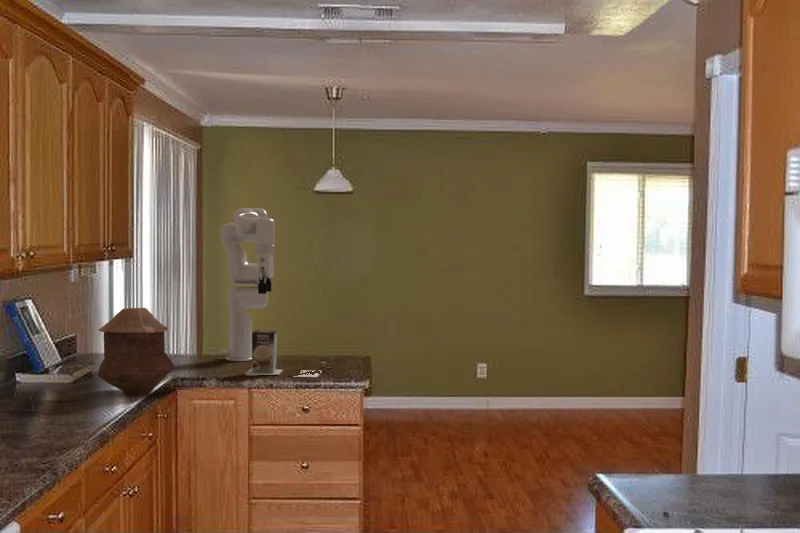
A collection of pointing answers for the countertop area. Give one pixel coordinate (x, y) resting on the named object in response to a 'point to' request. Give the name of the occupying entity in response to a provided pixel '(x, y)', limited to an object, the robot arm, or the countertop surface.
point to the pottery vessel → (134, 352)
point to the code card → (308, 374)
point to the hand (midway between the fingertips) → (264, 292)
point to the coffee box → (264, 351)
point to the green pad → (263, 372)
